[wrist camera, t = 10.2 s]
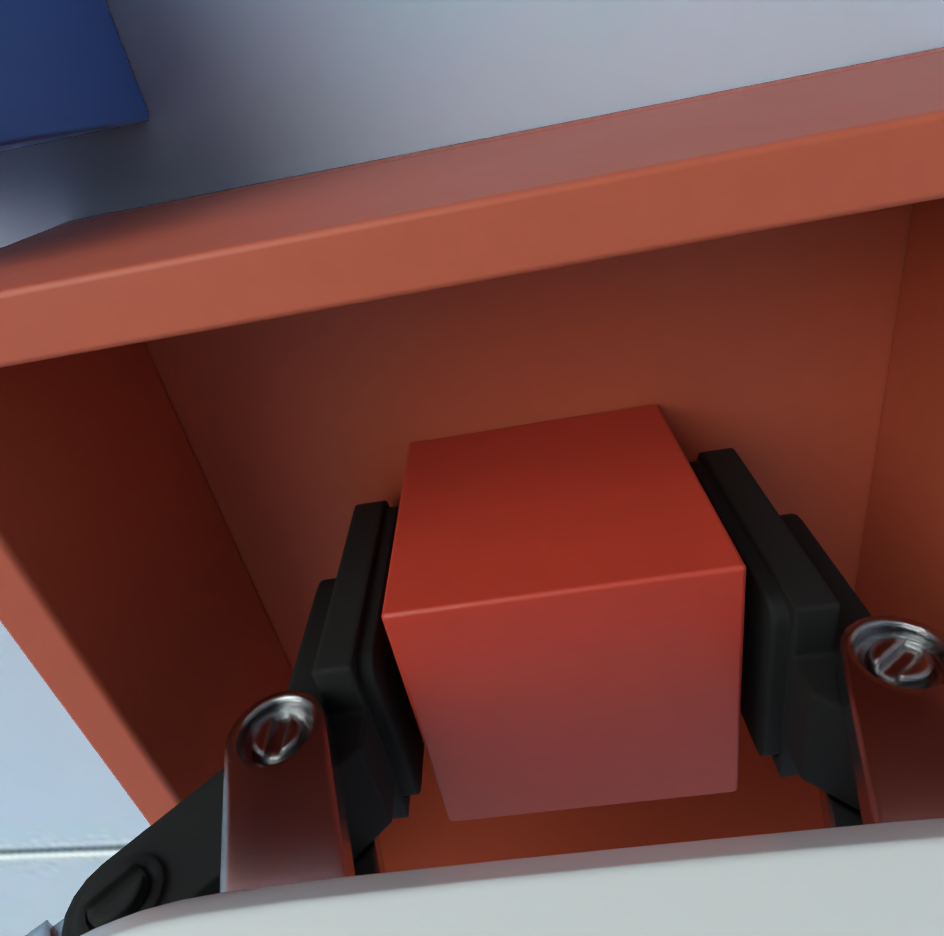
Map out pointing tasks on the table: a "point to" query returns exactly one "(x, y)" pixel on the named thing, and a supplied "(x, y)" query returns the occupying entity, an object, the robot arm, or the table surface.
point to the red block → (567, 617)
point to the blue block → (62, 72)
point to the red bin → (465, 396)
